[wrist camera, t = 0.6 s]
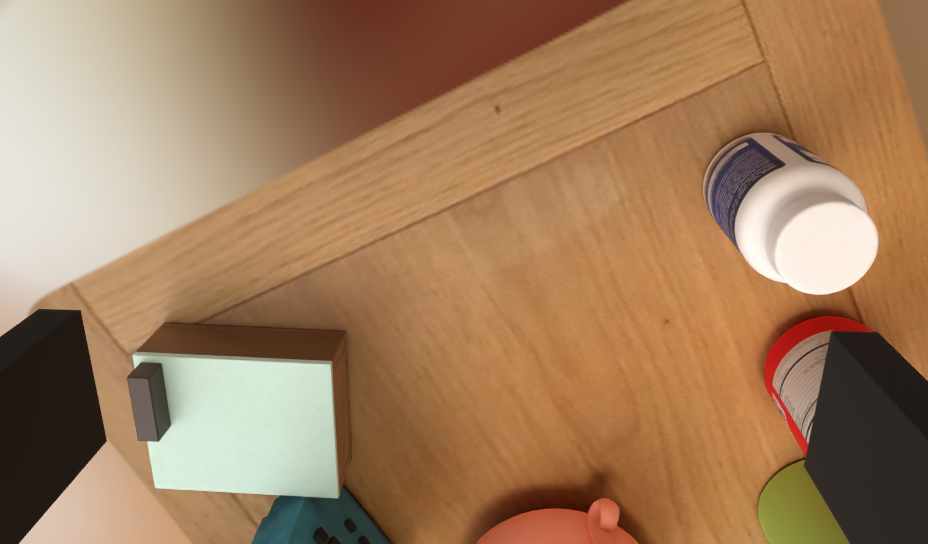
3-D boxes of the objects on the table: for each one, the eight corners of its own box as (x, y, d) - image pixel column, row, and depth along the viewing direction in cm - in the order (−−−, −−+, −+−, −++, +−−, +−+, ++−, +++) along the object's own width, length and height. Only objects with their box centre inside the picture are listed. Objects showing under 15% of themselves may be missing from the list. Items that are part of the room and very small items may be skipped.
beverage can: (785, 424, 44) (876, 579, 33) (739, 340, 42) (818, 475, 31) (892, 376, 42) (1025, 523, 31) (849, 288, 41) (974, 410, 30)
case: (163, 322, 44) (135, 351, 41) (346, 330, 44) (332, 360, 40) (182, 448, 48) (157, 483, 44) (352, 457, 47) (339, 494, 44)
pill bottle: (703, 239, 40) (757, 319, 31) (697, 139, 38) (753, 195, 29) (809, 224, 39) (896, 302, 30) (809, 122, 37) (901, 173, 28)
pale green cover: (135, 351, 41) (117, 369, 39) (332, 360, 40) (323, 379, 39) (157, 483, 44) (142, 506, 42) (340, 494, 44) (332, 517, 42)
